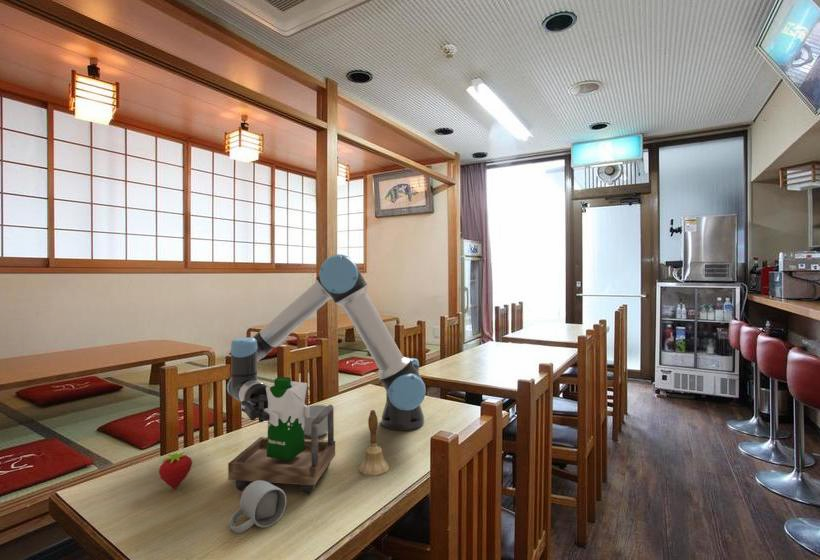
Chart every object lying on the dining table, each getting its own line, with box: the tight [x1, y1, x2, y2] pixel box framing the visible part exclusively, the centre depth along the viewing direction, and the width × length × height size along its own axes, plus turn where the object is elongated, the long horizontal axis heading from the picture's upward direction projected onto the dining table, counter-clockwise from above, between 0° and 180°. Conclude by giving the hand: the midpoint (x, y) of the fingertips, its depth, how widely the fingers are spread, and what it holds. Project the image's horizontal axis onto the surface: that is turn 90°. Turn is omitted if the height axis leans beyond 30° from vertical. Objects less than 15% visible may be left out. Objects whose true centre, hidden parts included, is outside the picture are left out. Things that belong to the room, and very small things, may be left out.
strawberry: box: [158, 449, 193, 489], centre depth 101 cm, size 6×8×10 cm
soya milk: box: [266, 376, 308, 461], centre depth 106 cm, size 9×9×20 cm
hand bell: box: [358, 409, 390, 477], centre depth 111 cm, size 8×8×16 cm
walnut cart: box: [227, 404, 336, 495], centre depth 106 cm, size 22×16×18 cm
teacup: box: [304, 404, 328, 438], centre depth 135 cm, size 14×11×8 cm
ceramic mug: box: [228, 480, 287, 534], centre depth 87 cm, size 11×8×8 cm
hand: (293, 416), depth 102 cm, fingers closed on soya milk, 8 cm apart
